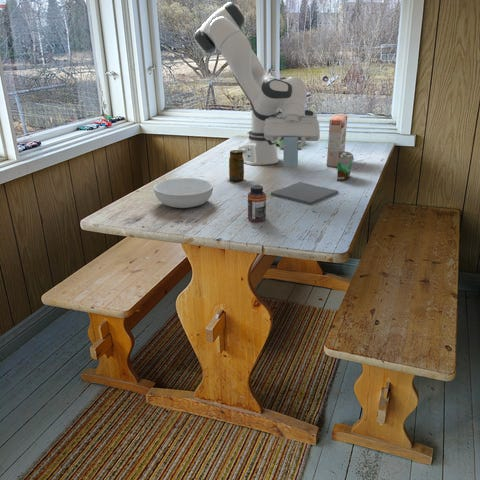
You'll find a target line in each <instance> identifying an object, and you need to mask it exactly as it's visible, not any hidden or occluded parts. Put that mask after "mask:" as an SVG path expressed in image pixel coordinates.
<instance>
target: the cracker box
mask: <svg viewBox="0 0 480 480" xmlns="http://www.w3.org/2000/svg"><path fill="white" fill-rule="evenodd" d="M328 124H329V125H328V126H329V128H328V138H327V139H328V141H327V155H326V156H327V158H326V167H330V168H331V167H332V168H338V157H339V151H345V150H346V149H345V148H346V139H347V136H346V135H347V127H348V125H347V124H348V115H346V114H345V115H344V114H334V116H332V117H331V118H330V119H329V123H328Z"/></svg>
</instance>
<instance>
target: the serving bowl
mask: <svg viewBox="0 0 480 480" xmlns="http://www.w3.org/2000/svg"><path fill="white" fill-rule="evenodd" d="M153 191H154V195H155V197H156V198H157V200H158V201H159V202H160V203H161V204H163V205H166V206H169V207H170V208H171V207H172V208H176V209H177V208H178V209H185V208H186V209H190V208H194V207H197V206H201V205H203V204H205V203H206V202H207V201H208V200H209V199H210V198H211V197H212V195H213V191H214V185H213V183H212V182H211V181H208V180H204V179H202V178H195V177H194V178H193V177H184V178H183V177H180V178H171V179H170V178H169V179H166V180H163V181H160V182H158V183H156V184H155V185H153Z"/></svg>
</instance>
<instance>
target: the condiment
mask: <svg viewBox="0 0 480 480" xmlns="http://www.w3.org/2000/svg"><path fill="white" fill-rule="evenodd" d="M225 180H227V181H228V182H229V183H230V184H243V183H249V180H247V179H246V178H245V163H244V158H243V152H242V151H241V150H238V149H233V150H230V151H229V157H228V177H226V178H225Z"/></svg>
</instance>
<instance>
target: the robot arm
mask: <svg viewBox="0 0 480 480" xmlns="http://www.w3.org/2000/svg"><path fill="white" fill-rule="evenodd" d="M244 23H245V16H244V13H243V10H242V9H241V7H240V6H239V5H238V4H235V3H234V2H231V1H229V2H226V3H225V4H223V5H222V7H221V8H219V9H217V10H216V11H215V12H214V13H212V14H211V15H210V17H209V18H208V19H207V20H206V21H204V23H203V24H202V25H201V27H200V28H198V29H197V30H196V31H195V33H194V39H195V43H196V45H197V47H198V48H199V50H201V51H203V53H204V52H205V53H206V54H212V53H214V52H216V50H218V52H220V54H221V55H222V57H223V58H224V60H225V61H226V63H227V65H228V66H229V68H230V71H231V73H232V75H233V77H234V79H235V81H236V82H237V84H238V85H239V87H240V89H241V90H242V92H243V94H244V95H245V97H246V98H247V99H248V102H249V104H250V107H251V109H252V110H251V115H250V116H251V130H250V131H247V134H246V135H248V138H247V139H246V140H245V141H244V142H242V143H241V144H240V145H239V146H238V148H237V150H241V151H242V152H243V158H244V164H246V165H248V166H249V165H250V166H256V165H259V166H261V165H274V164H276V163H279V161H280V159H279V157H278V155H279V154H278V150H277V145H279V150H280V151H283V144H282V143H281V141H282V140H283V139H284V136H289V137H298V142H300V143H298V151H303V146H304V145H305V144H306V142H317V141H319V140H320V131H321V130H320V123H319V120H318V114H317V112H316V111H314V110H311V109H307V108H306V103H307V88H306V83H305V81H303V79H302V78H301V77H298V76H290V77H287V78H285V79H279V78H276V77H274V75H270V74H269V73H268V72H267V71H266V70H265V68H264V67H263V64H262V62H261V61H260V59H259V57H258V56H257V54H256V53H255V52H254V50H253V48H252V45H251V43H250V41H249V40H248V38H247V36H246V35H245V34H244V33H243V32H242V27H243V26H244ZM280 109H281V113H280V114H281V115H280V116H278V114H279V111H280ZM276 140H277V141H278V144H276Z"/></svg>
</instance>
